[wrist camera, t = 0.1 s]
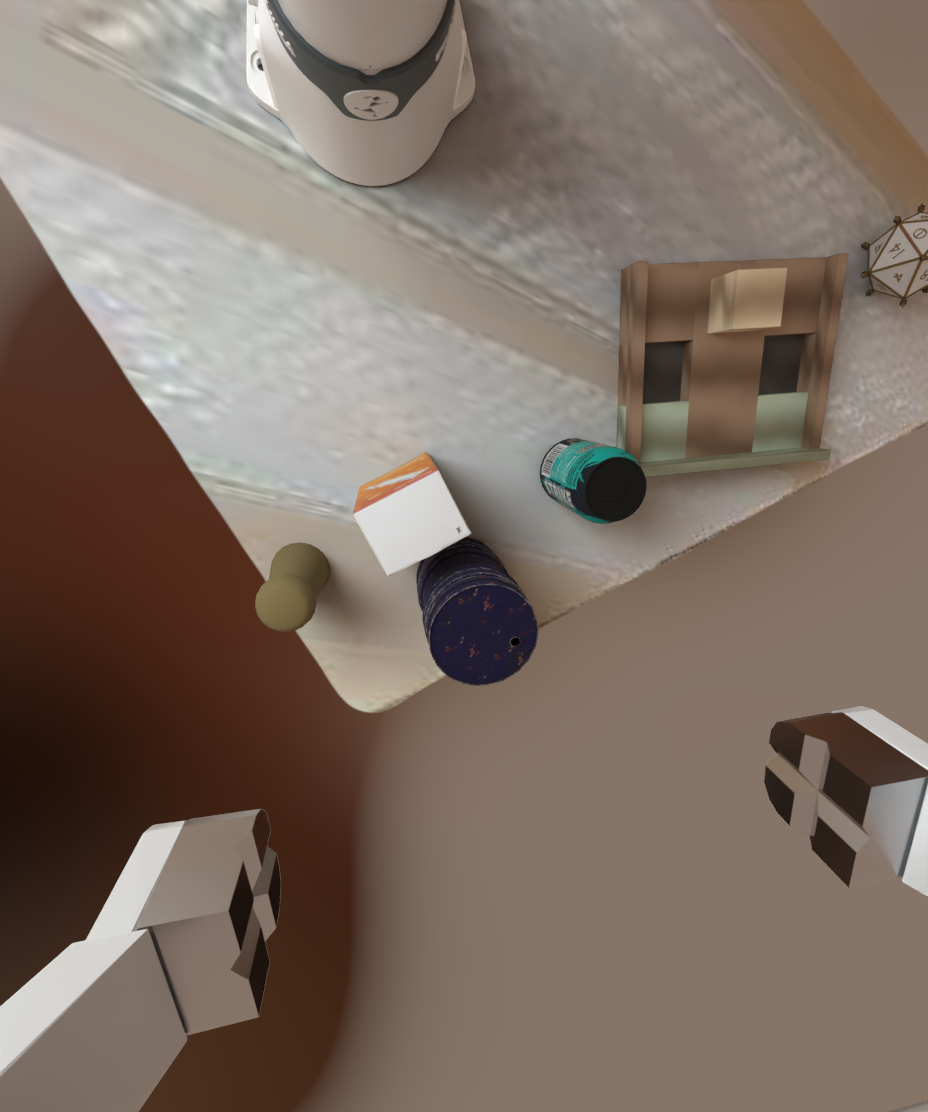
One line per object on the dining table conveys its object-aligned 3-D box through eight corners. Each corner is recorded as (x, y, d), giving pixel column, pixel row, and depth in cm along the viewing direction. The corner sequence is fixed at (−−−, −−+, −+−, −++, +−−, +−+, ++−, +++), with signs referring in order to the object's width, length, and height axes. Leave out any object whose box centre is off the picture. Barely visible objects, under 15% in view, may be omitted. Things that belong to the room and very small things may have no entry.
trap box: (621, 269, 51) (646, 257, 46) (819, 261, 54) (861, 249, 49) (616, 470, 57) (637, 477, 53) (793, 454, 60) (829, 459, 56)
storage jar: (406, 609, 58) (414, 677, 44) (426, 527, 56) (443, 572, 42) (488, 624, 61) (521, 694, 47) (512, 546, 58) (554, 595, 44)
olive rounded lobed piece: (337, 587, 56) (328, 630, 46) (283, 602, 56) (261, 650, 46) (318, 535, 54) (305, 569, 44) (262, 551, 54) (235, 589, 44)
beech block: (711, 278, 51) (738, 269, 47) (757, 276, 52) (787, 267, 48) (707, 333, 52) (732, 329, 49) (752, 331, 53) (780, 326, 49)
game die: (832, 286, 59) (844, 294, 51) (882, 197, 54) (904, 191, 46) (918, 308, 57) (944, 320, 49) (979, 218, 52) (1018, 215, 44)
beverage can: (593, 503, 58) (645, 530, 47) (534, 500, 57) (573, 527, 46) (603, 439, 56) (660, 451, 45) (542, 435, 55) (584, 446, 44)
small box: (426, 450, 54) (440, 467, 41) (453, 503, 56) (473, 535, 43) (356, 486, 54) (350, 514, 41) (386, 538, 56) (388, 579, 43)
